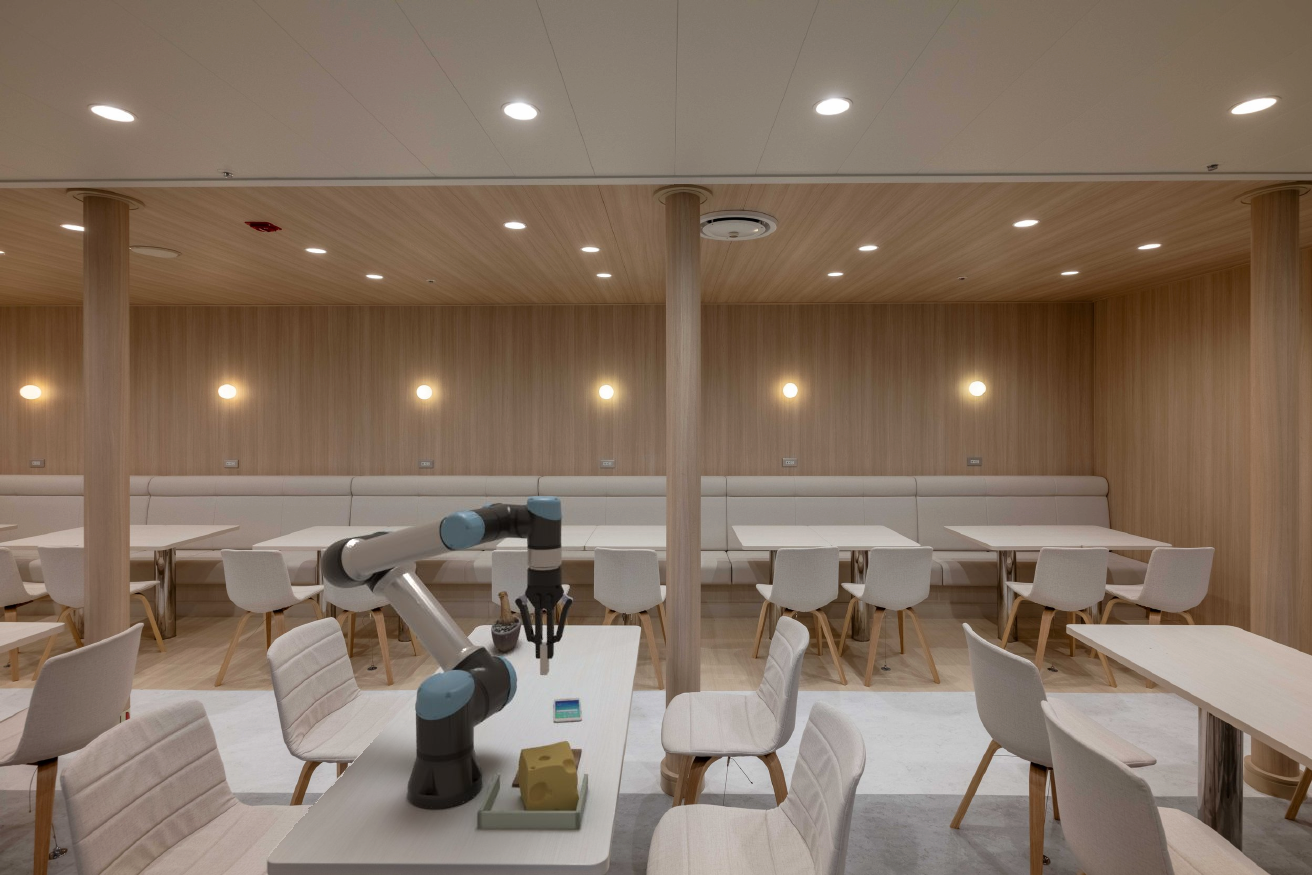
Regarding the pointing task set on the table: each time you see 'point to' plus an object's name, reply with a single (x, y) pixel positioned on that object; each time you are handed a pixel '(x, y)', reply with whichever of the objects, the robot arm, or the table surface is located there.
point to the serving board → (576, 758)
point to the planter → (505, 626)
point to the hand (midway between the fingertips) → (544, 672)
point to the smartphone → (567, 710)
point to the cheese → (548, 778)
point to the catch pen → (529, 813)
